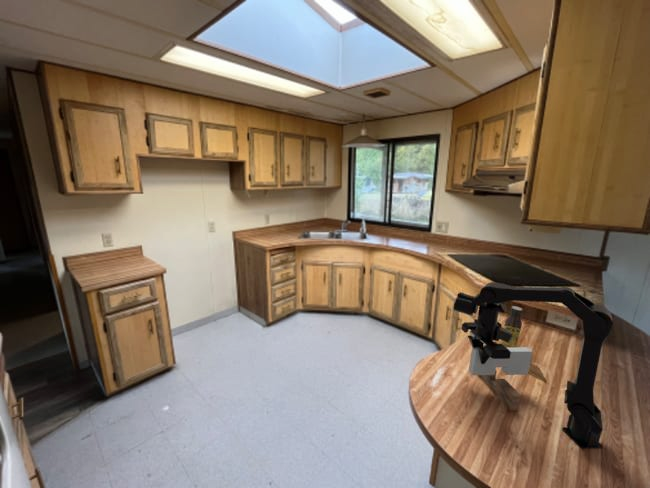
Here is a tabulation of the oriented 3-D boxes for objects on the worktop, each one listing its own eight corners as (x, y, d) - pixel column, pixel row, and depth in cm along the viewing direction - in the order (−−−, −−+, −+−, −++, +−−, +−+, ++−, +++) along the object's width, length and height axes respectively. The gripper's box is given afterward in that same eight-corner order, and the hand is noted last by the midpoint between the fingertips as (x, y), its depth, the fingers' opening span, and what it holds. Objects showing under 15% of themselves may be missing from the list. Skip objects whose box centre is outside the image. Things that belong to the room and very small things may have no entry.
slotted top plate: (472, 375, 97) (476, 351, 95) (468, 370, 100) (472, 347, 98) (527, 374, 98) (532, 351, 96) (522, 369, 101) (527, 347, 99)
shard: (546, 384, 105) (547, 380, 104) (522, 378, 107) (523, 374, 107) (536, 367, 115) (537, 363, 114) (514, 362, 117) (515, 358, 117)
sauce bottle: (499, 350, 125) (507, 308, 121) (498, 343, 130) (506, 303, 126) (517, 354, 122) (525, 312, 118) (515, 347, 128) (523, 306, 123)
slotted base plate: (517, 411, 91) (521, 395, 90) (510, 411, 91) (513, 395, 89) (481, 371, 110) (483, 357, 109) (474, 371, 110) (477, 357, 109)
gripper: (531, 334, 86) (522, 379, 89) (492, 307, 104) (486, 345, 107) (496, 334, 85) (488, 379, 88) (463, 307, 103) (457, 346, 107)
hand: (480, 361), depth 98 cm, fingers closed on slotted top plate, 2 cm apart
